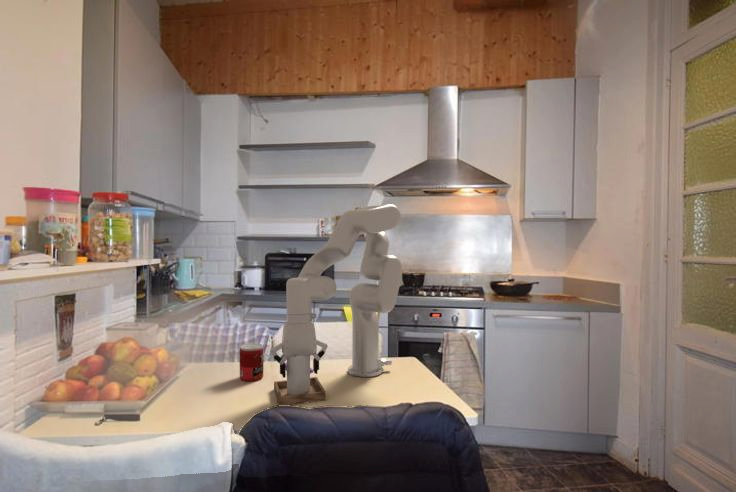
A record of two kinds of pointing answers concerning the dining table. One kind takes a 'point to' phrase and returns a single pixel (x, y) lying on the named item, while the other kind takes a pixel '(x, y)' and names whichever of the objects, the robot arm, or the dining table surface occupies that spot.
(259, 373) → the canned food
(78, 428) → the dining table surface
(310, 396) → the tray
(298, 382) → the skincare box
